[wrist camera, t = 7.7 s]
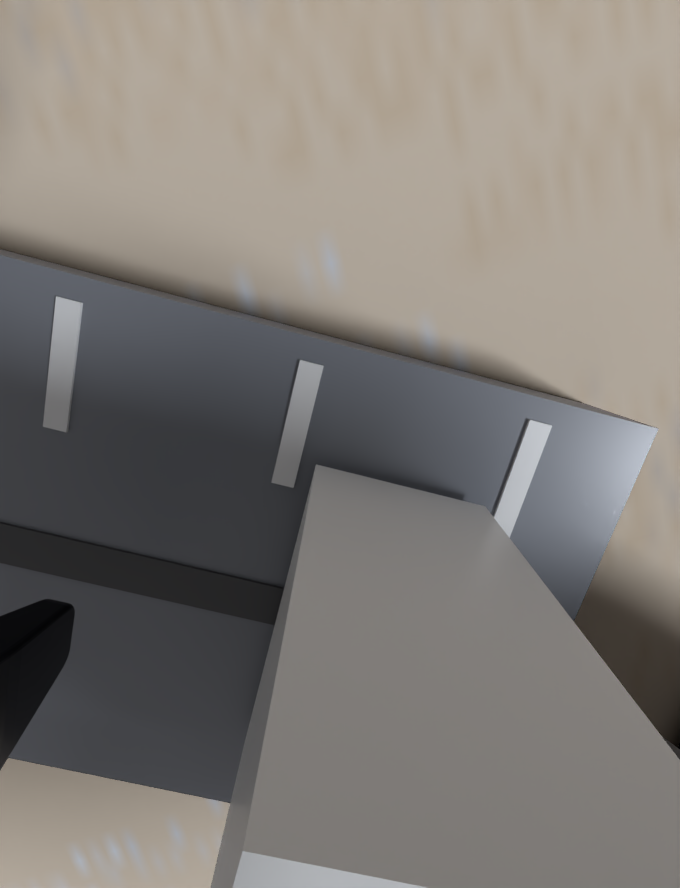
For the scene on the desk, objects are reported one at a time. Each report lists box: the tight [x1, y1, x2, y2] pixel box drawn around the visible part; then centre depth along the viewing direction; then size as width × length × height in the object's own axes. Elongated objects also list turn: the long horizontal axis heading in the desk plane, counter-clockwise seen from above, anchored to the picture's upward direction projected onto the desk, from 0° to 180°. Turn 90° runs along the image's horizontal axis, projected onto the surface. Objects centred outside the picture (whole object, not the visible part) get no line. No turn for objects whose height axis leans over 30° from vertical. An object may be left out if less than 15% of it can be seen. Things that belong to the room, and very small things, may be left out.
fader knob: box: [211, 464, 680, 888], centre depth 6 cm, size 3×6×6 cm, turn 165°
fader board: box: [0, 249, 658, 803], centre depth 10 cm, size 20×10×3 cm, turn 76°
